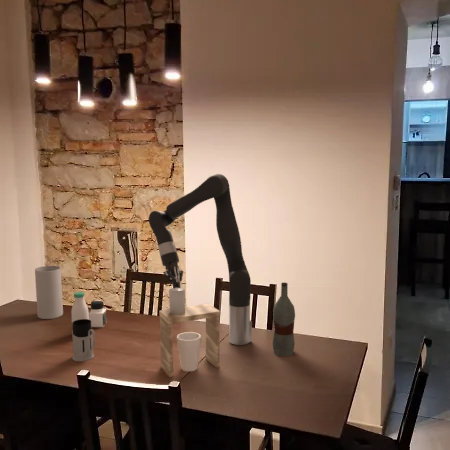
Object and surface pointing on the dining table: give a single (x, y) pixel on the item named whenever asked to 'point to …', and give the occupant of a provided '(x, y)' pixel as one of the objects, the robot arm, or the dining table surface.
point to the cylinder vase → (49, 292)
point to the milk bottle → (79, 308)
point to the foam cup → (189, 350)
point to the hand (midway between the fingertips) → (178, 291)
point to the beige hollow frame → (190, 315)
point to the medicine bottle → (97, 314)
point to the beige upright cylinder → (177, 301)
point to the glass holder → (82, 340)
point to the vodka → (283, 324)
